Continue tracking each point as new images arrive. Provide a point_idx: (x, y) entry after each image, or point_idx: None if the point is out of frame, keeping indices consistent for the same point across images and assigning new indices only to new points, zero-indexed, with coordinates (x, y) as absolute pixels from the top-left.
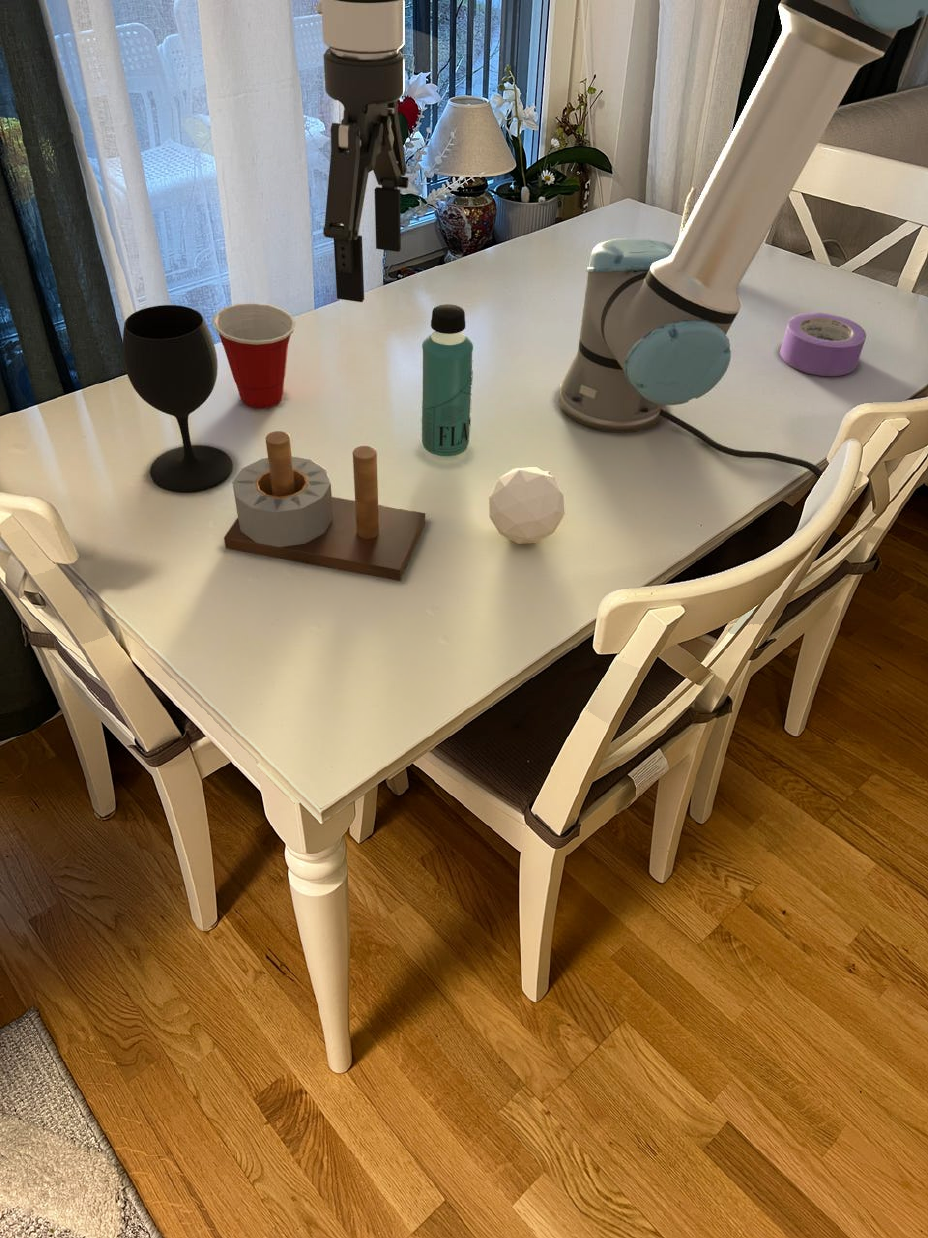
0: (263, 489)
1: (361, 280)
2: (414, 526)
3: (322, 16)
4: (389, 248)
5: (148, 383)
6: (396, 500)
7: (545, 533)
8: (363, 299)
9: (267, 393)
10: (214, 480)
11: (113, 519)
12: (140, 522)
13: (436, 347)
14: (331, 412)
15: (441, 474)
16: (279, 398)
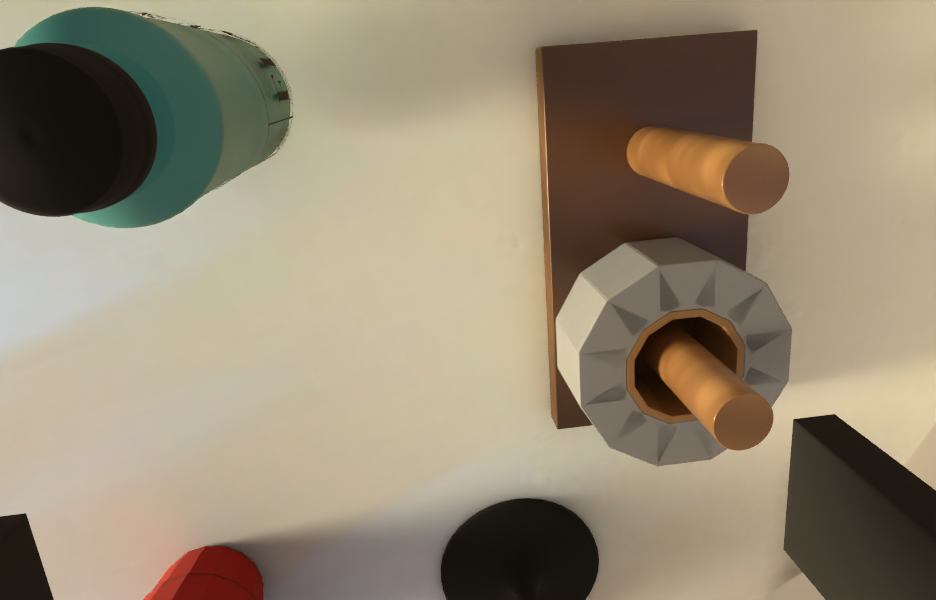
0: (663, 400)
1: (922, 486)
2: (601, 54)
3: None
4: (37, 580)
5: None
6: (472, 147)
7: None
8: (808, 419)
9: (242, 578)
10: (550, 514)
11: (697, 596)
12: (693, 556)
13: (192, 147)
14: (192, 431)
15: (327, 79)
16: (214, 551)
